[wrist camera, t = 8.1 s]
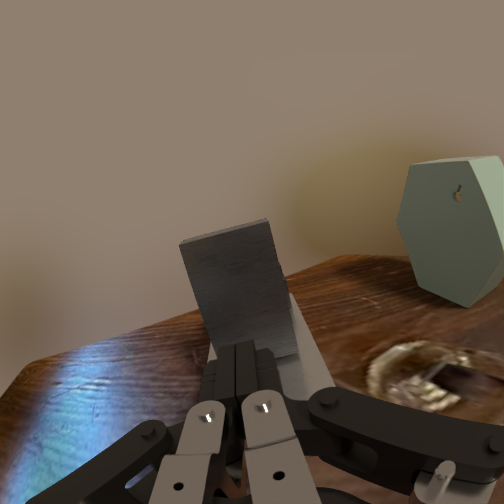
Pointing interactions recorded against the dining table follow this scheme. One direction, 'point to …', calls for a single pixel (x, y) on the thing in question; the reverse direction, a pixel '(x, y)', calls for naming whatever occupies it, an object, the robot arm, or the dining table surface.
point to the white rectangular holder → (298, 361)
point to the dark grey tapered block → (240, 287)
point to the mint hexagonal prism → (455, 226)
